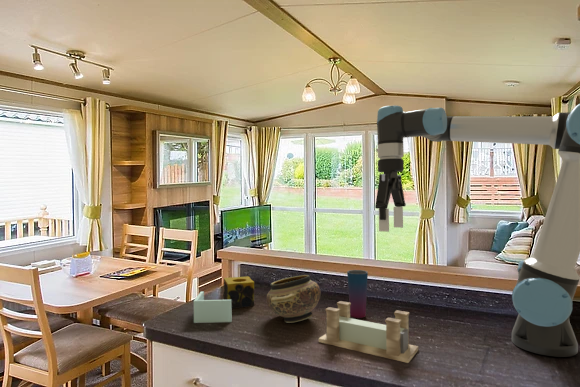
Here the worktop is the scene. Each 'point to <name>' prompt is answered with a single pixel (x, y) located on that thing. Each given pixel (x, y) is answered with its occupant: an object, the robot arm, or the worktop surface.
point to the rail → (367, 333)
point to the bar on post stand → (391, 345)
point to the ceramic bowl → (293, 298)
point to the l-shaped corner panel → (211, 310)
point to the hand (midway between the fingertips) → (391, 229)
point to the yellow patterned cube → (239, 291)
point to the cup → (357, 292)
